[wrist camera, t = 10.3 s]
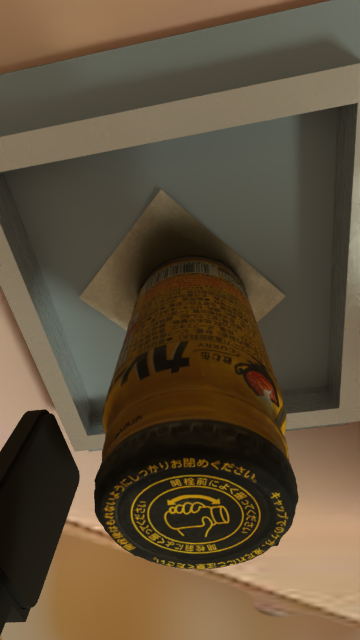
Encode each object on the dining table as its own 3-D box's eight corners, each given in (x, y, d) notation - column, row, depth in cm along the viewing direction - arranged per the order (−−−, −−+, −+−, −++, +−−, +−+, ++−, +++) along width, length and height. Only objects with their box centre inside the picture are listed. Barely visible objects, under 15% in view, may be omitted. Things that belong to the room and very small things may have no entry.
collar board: (345, 417, 23) (361, 448, 21) (91, 444, 25) (81, 475, 23) (375, -6, 13) (414, -35, 11) (-55, 90, 15) (-99, 82, 13)
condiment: (196, 376, 21) (204, 614, 11) (79, 296, 19) (-58, 500, 8) (284, 294, 19) (412, 504, 8) (161, 187, 16) (110, 287, 6)
